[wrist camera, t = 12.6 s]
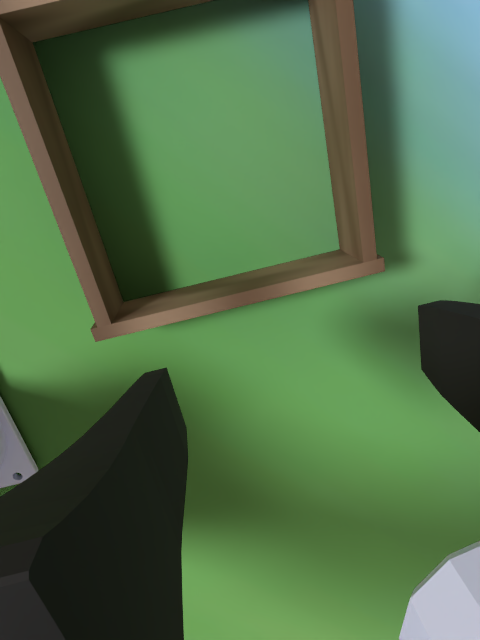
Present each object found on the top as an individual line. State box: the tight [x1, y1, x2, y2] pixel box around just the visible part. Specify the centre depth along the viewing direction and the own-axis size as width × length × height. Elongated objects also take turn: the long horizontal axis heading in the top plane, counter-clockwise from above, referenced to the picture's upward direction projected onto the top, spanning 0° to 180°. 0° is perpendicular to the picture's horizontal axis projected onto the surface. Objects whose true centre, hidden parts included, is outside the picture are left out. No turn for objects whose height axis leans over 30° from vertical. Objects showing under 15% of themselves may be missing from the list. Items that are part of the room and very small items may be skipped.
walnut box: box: [0, 0, 385, 342], centre depth 16 cm, size 13×12×3 cm
